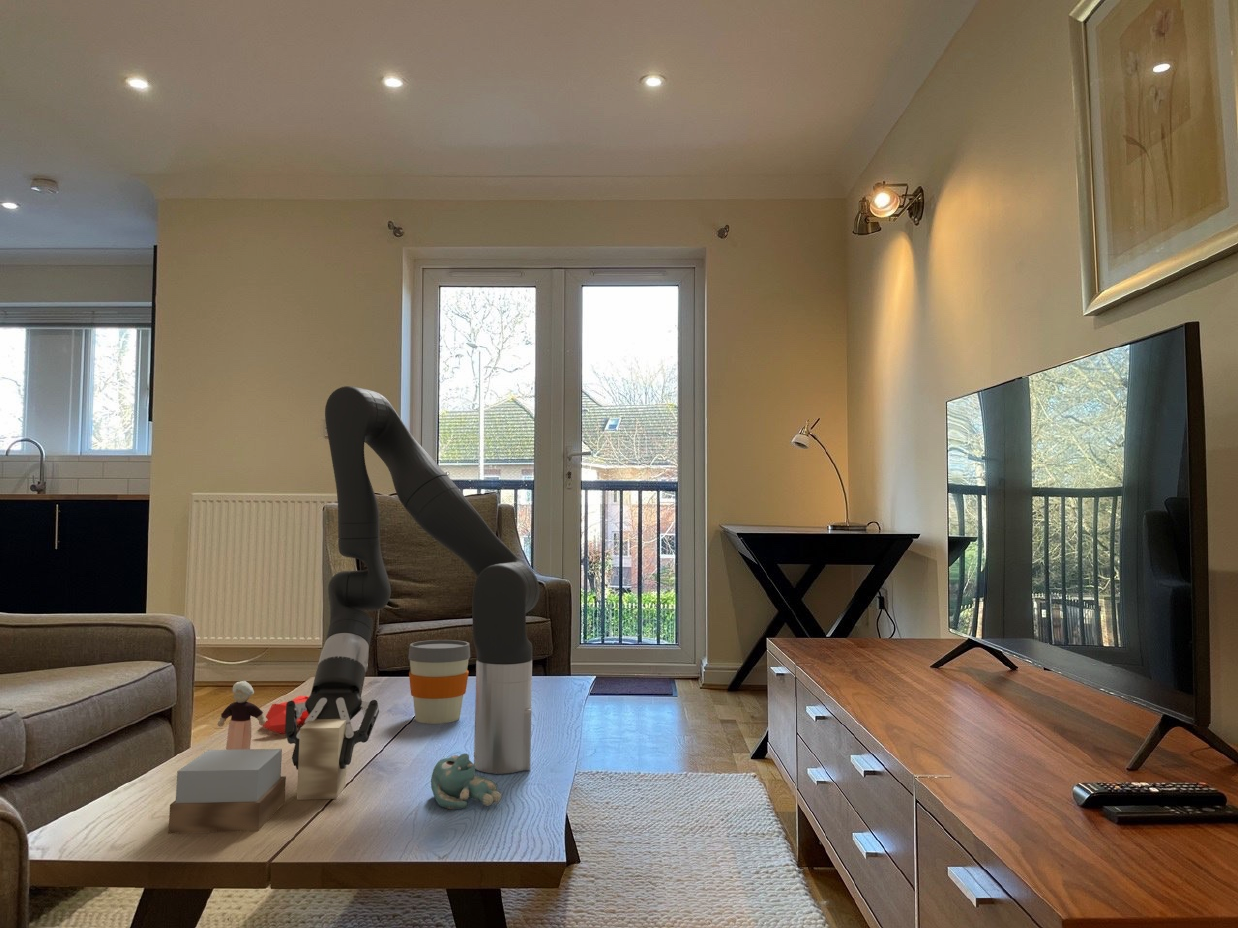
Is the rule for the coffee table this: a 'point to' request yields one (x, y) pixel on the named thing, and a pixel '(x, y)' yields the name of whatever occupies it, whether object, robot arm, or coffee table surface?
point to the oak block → (321, 759)
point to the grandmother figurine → (240, 717)
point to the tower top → (229, 776)
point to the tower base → (226, 813)
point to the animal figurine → (283, 715)
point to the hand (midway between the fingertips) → (320, 766)
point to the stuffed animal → (461, 783)
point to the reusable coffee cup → (438, 679)
